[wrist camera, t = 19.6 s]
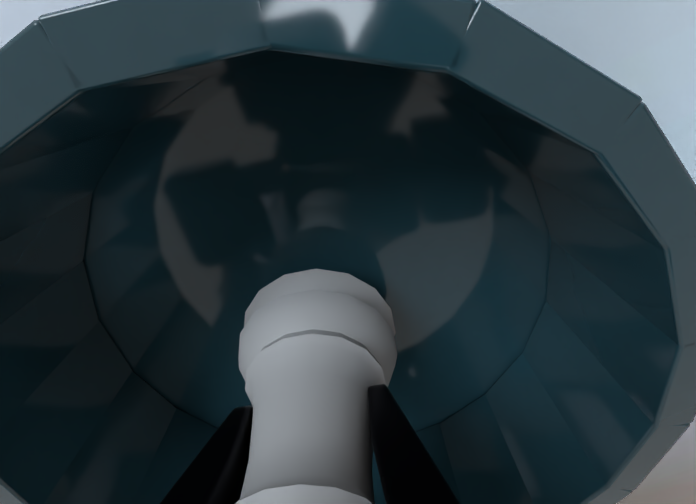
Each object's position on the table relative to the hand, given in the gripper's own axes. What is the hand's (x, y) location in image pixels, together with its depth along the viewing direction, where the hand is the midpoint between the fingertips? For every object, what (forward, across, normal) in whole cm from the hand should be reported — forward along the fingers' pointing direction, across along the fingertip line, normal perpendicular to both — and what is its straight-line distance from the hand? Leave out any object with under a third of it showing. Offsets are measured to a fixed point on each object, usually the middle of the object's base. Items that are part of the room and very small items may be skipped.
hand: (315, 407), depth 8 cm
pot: (+4, 0, 0) cm, 4 cm away
